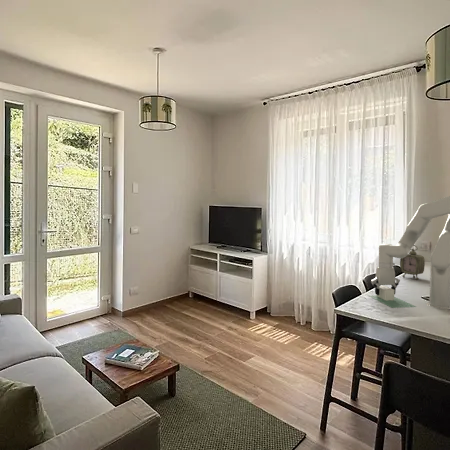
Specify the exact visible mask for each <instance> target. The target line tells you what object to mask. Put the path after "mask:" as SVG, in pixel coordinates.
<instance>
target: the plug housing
mask: <svg viewBox="0 0 450 450" xmlns="http://www.w3.org/2000/svg"><path fill="white" fill-rule="evenodd" d="M379 289H380V291H379V295H376V294H375V295H376V296H378V297H380V298H382V299H384V300H386V301H388V300H394V297H395V295H394V289H391V287H390V286H389V287H388V286H387V285H381V286H380V287H379Z"/></svg>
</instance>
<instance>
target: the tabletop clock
mask: <svg viewBox="0 0 450 450" xmlns="http://www.w3.org/2000/svg"><path fill="white" fill-rule="evenodd" d="M413 247H416V249H414V248H411V250H410V251H409V253H408V254H407V256H406V257H404V258H399V259H400V260H399V269H400V272H401V273H402V277H403V278H405V275H411V276H412V277H413V279H415V280H417V281H418V280H419V278H418V275H421V274H424V272H425V265H426V264H425V263H426V262H425V257H424V256H423V255H421V254H418V253H417V252H416V251H417V250H418V246H417V245H416V244H414V245H413Z"/></svg>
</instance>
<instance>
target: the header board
mask: <svg viewBox="0 0 450 450" xmlns="http://www.w3.org/2000/svg"><path fill="white" fill-rule="evenodd" d="M369 297H370V298H372V299H374V300H376V301H378V302H380V303H382V304H383V305H386V306H387V307H389V308H392V309H394V308H395V309H396V308H397V309H398V308H416V307H417V306H416V305H413V304H412V303H409V302H407V301H406V300H405V301H404V300H402V299H400V298H398V297H395V296H394V300H388V301H386V300H384V299H382V298H380V297H378V296H376V294H375V295H374V294H373V295H369Z"/></svg>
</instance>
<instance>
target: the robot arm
mask: <svg viewBox="0 0 450 450" xmlns="http://www.w3.org/2000/svg"><path fill="white" fill-rule="evenodd" d="M413 215H414V216H413V217H412V218H411V220H410V221H409V223H408V224H407V226H406V228H405V231H404V233H403V235H402V237H401V238H400V240H398V243H397V244H395V245H393V244H390V243H381V244H379V247H378V266H377V267H376V271H375V278H373V279H371V281H370V283H371V285H372V286H373V287H374V294H375V295H379V291H380V289H379V287H380V286H391V287H390V288H391V289H394V296H395V295H396V288H397V287H398V286H399V284H400V282H401V280H400V279H399V278H397V277H396V272H395V268H394V266H395V265H396V263H394V258H396V259H401V258H404V257H406V256H407V254H409V252H410V251H412V250H411V249H413V247H414V246H413V245H416V242H418V240H419V238H421V237H422V236H423V233H425V231H426V229H427V228H428V226H429V225H430V223H431V222H432V220H433V219H434V218H438V217H442V216H446V215H448V216H447V220H446V222H445V225H444V227H443V230H442V231H441V233H440V235H439V237H438V239H437V241H436V244H435V246H434V249H433V251H432V252H431V254H430V257H429V258H430V259H429V260H430V261H429V262H430V274H429V276H430V277H429V301H428V302H426V303H425V304H426V305H427V306H429V307H432V308H437V309H443V310H444V309H445V310H449V311H450V195H449V196H445V197H442V198H440V199H437V200H433V201H429V202H425V203H422V204H420V206H419V207H418V209H417V211H416V212H415V213H414V214H413Z"/></svg>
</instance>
